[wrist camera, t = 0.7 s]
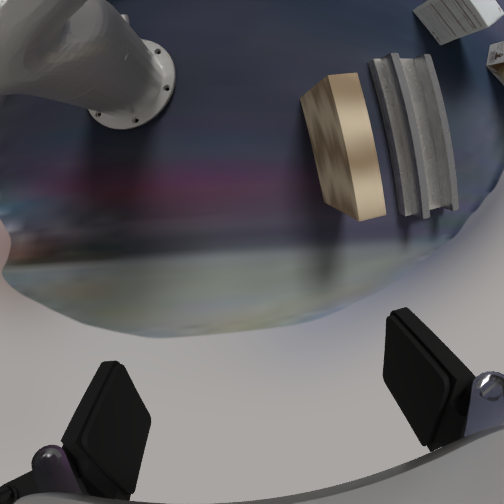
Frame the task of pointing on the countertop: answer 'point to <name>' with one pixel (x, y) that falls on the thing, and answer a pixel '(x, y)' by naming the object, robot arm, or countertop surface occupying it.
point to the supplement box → (457, 17)
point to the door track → (416, 133)
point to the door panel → (344, 146)
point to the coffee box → (496, 60)
